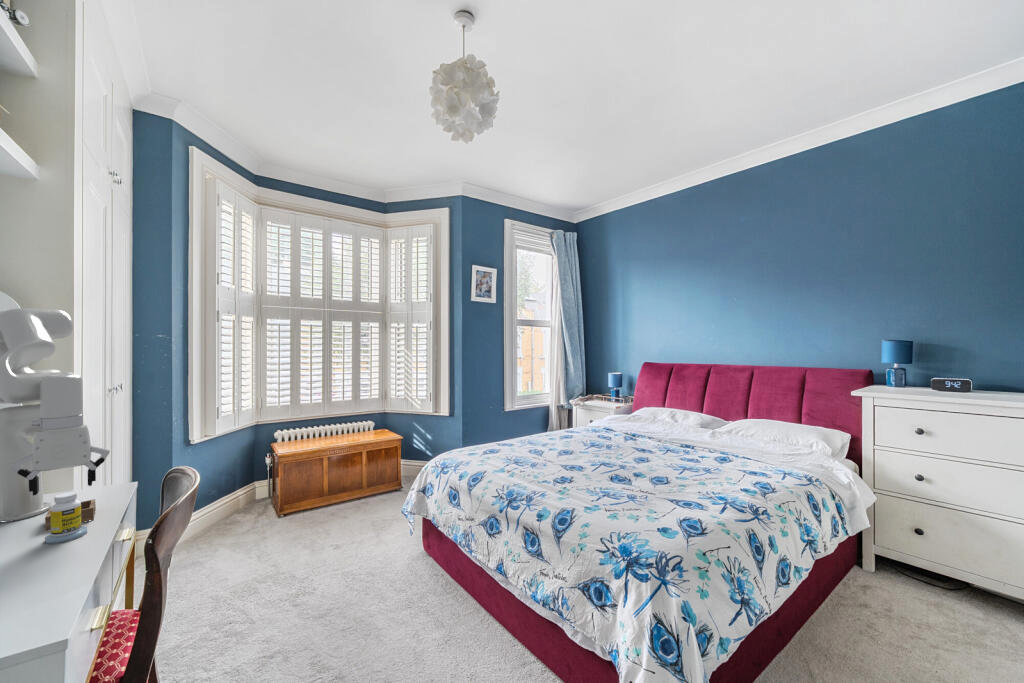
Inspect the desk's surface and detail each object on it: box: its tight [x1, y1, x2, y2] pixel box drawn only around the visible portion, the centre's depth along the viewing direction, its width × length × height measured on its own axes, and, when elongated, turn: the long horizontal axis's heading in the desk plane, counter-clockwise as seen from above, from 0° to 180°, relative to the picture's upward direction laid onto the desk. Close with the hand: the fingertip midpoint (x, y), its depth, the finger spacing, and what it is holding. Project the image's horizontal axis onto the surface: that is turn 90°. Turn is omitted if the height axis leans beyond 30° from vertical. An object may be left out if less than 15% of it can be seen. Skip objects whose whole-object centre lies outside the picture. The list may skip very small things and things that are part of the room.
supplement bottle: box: [50, 491, 82, 537], centre depth 109 cm, size 5×5×10 cm
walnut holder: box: [44, 498, 97, 532], centre depth 119 cm, size 9×9×4 cm
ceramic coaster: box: [44, 525, 88, 545], centre depth 109 cm, size 8×8×1 cm
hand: (63, 488), depth 109 cm, fingers open, 9 cm apart
